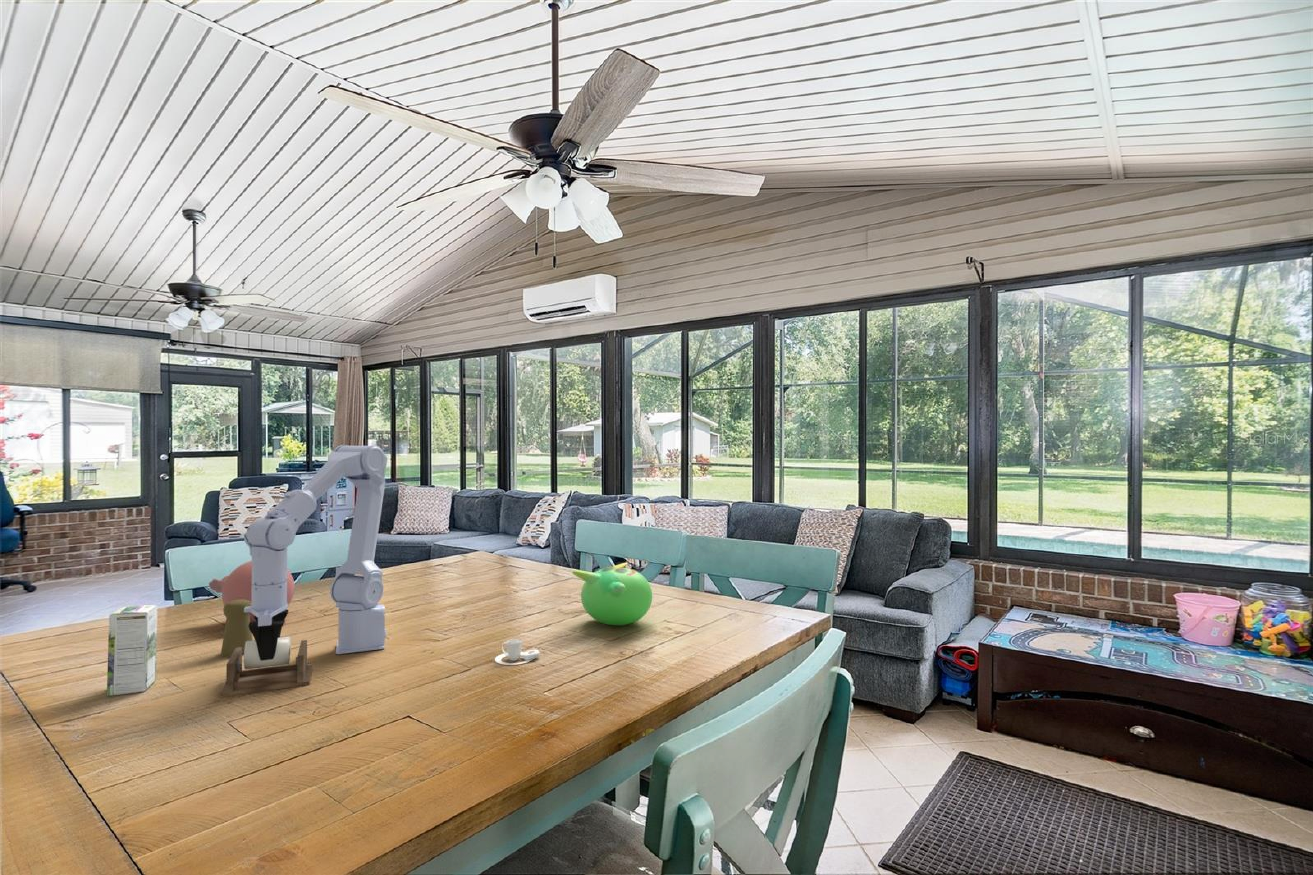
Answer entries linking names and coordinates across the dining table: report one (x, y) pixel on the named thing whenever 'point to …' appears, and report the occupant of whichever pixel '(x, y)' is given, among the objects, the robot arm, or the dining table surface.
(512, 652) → the teacup and saucer
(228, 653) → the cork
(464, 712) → the dining table surface
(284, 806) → the dining table surface
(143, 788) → the dining table surface
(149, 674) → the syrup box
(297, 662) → the holder
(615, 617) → the toy bird
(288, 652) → the roll
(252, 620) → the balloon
